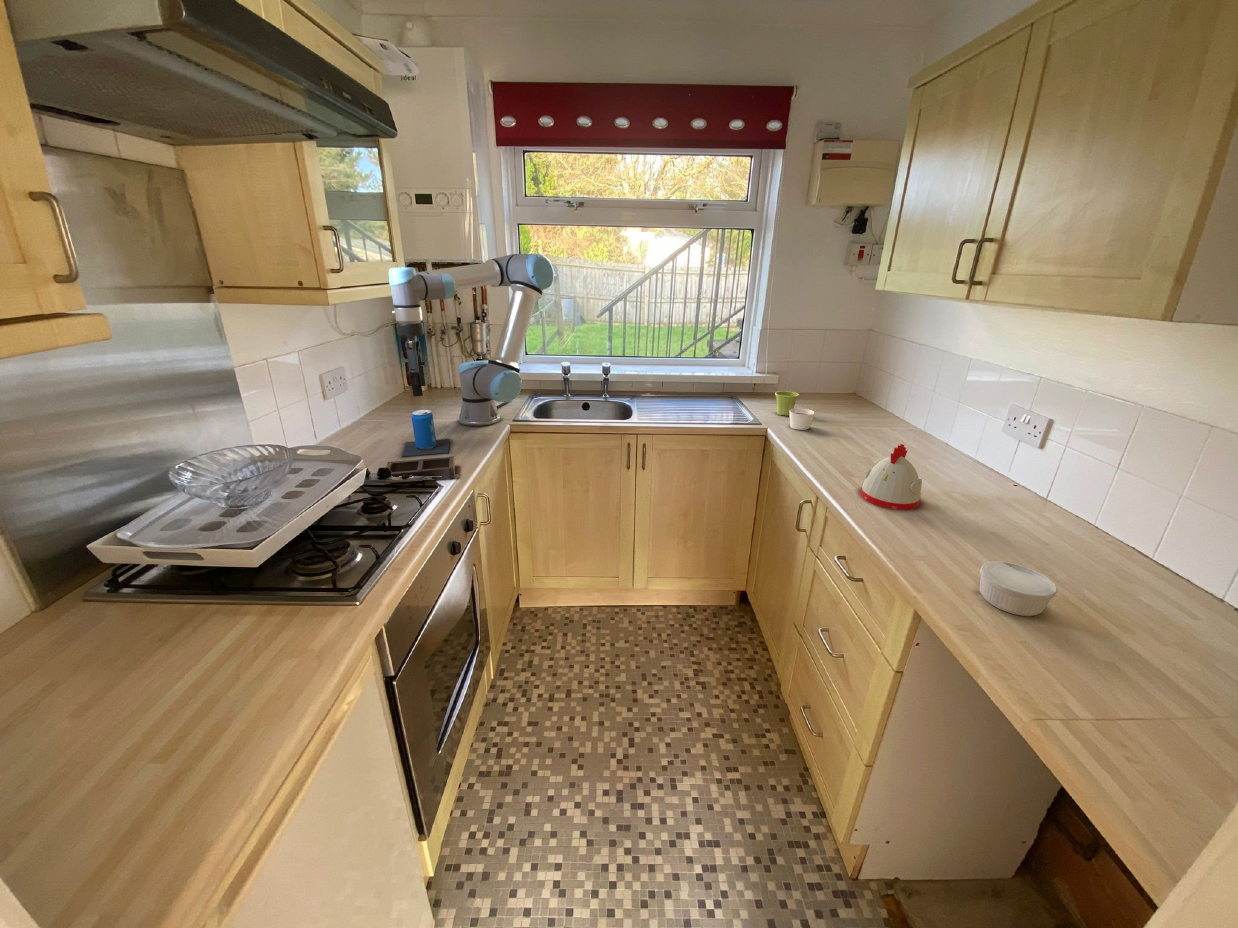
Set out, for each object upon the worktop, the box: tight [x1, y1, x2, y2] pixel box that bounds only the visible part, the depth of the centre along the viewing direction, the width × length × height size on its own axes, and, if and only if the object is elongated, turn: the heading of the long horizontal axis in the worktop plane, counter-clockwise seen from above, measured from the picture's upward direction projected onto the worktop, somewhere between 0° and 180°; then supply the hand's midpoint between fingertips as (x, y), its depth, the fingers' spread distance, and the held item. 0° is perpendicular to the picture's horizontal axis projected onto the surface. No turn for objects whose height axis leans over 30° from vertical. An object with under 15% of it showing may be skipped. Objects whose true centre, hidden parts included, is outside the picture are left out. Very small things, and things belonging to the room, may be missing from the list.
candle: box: [789, 407, 815, 431], centre depth 193 cm, size 9×9×6 cm
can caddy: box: [385, 456, 456, 481], centre depth 147 cm, size 10×18×3 cm, turn 106°
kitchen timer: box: [860, 443, 923, 511], centre depth 133 cm, size 14×14×15 cm
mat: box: [401, 438, 450, 458], centre depth 169 cm, size 14×14×1 cm
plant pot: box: [774, 390, 800, 417], centre depth 210 cm, size 9×9×9 cm
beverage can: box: [411, 409, 437, 450], centre depth 166 cm, size 6×6×12 cm
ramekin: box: [979, 560, 1058, 617], centre depth 93 cm, size 11×11×5 cm
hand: (419, 390), depth 162 cm, fingers open, 13 cm apart
